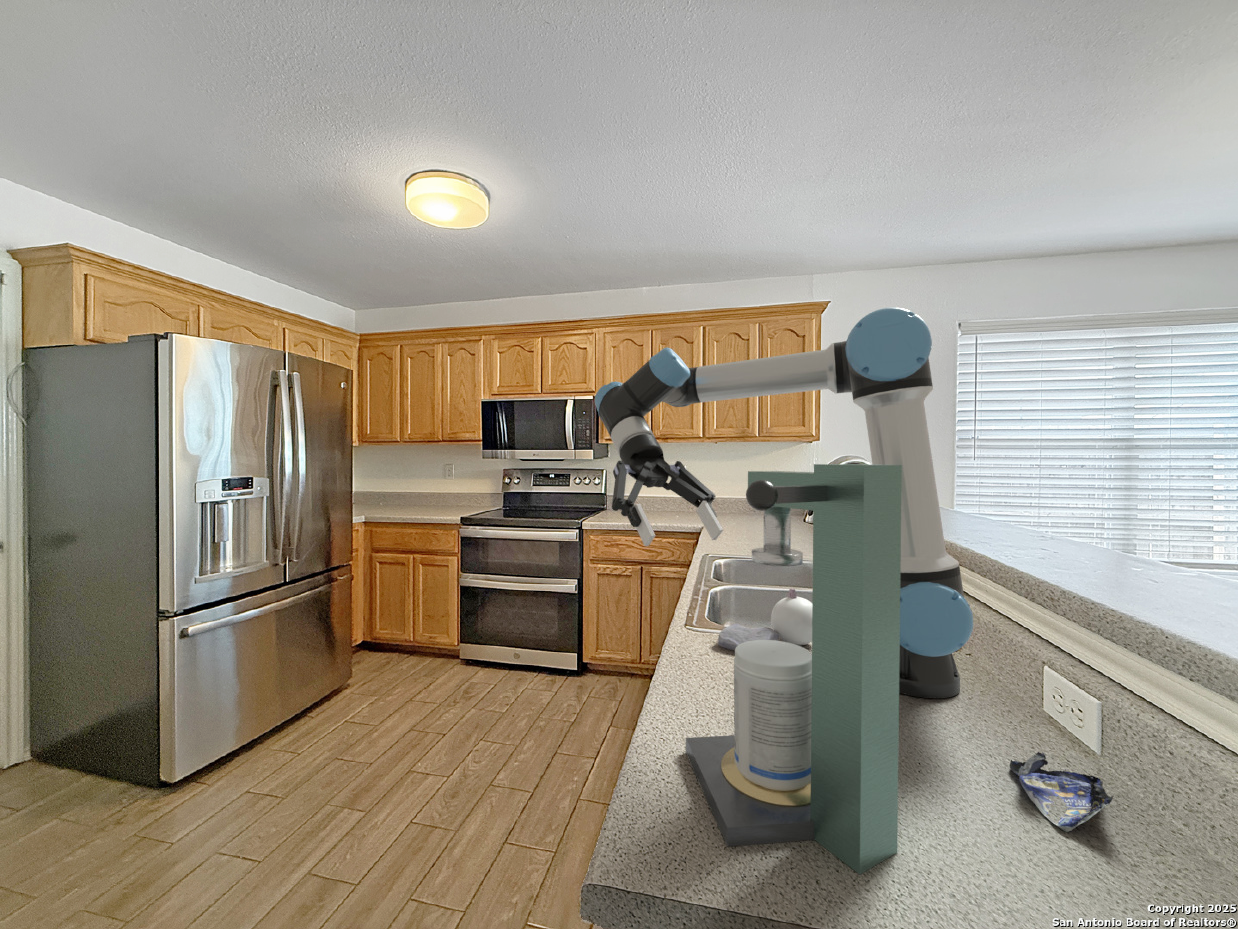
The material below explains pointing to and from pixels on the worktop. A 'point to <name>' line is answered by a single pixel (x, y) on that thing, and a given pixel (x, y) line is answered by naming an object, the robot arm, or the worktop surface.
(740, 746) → the supplement tub
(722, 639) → the stone block
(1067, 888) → the worktop surface
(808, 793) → the arbor press
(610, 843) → the worktop surface
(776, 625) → the ornament
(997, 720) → the worktop surface
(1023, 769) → the snack package
